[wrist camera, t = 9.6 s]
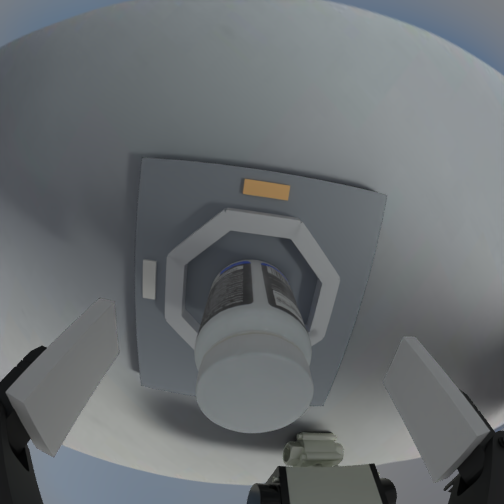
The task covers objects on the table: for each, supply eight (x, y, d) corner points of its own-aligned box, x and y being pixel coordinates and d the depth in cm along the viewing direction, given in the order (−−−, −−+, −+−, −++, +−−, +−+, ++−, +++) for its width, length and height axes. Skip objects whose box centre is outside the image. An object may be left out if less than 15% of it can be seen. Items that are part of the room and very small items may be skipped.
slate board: (378, 192, 16) (395, 196, 14) (320, 396, 20) (325, 414, 18) (149, 158, 15) (135, 156, 13) (145, 376, 20) (137, 394, 18)
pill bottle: (210, 328, 17) (188, 435, 9) (210, 255, 16) (175, 339, 8) (287, 331, 17) (311, 438, 9) (295, 259, 16) (338, 344, 8)
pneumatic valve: (258, 421, 21) (263, 545, 10) (372, 427, 22) (410, 522, 11) (243, 452, 23) (242, 557, 11) (347, 456, 24) (372, 543, 12)
